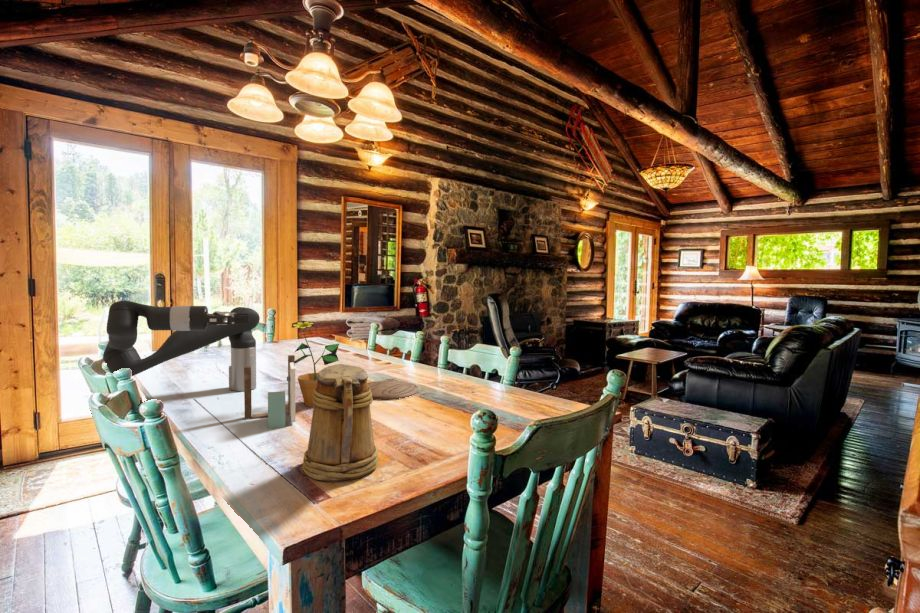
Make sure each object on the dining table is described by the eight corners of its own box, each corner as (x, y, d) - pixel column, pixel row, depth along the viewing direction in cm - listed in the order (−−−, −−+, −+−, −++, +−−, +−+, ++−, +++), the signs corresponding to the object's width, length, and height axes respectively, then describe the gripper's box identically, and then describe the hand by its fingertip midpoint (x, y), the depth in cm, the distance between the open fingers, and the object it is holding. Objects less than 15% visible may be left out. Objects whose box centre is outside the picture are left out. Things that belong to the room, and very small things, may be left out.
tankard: (367, 448, 126) (368, 359, 124) (392, 484, 105) (393, 378, 103) (298, 457, 118) (298, 363, 117) (310, 499, 97) (310, 384, 96)
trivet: (344, 396, 178) (344, 392, 178) (374, 382, 202) (374, 378, 202) (403, 403, 171) (403, 398, 171) (427, 388, 195) (427, 383, 194)
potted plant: (277, 406, 163) (276, 322, 161) (316, 394, 179) (316, 318, 177) (313, 414, 155) (313, 326, 152) (351, 401, 171) (351, 322, 169)
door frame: (244, 419, 147) (243, 358, 146) (245, 416, 150) (244, 357, 149) (294, 414, 153) (294, 356, 152) (294, 412, 156) (294, 354, 155)
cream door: (286, 412, 152) (285, 362, 151) (293, 412, 153) (293, 362, 152) (287, 422, 143) (287, 369, 141) (295, 421, 144) (295, 368, 142)
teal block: (268, 428, 140) (267, 396, 139) (268, 423, 145) (267, 392, 144) (285, 426, 142) (285, 395, 141) (284, 421, 147) (284, 391, 146)
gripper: (192, 328, 144) (248, 327, 150) (186, 333, 131) (248, 332, 137) (192, 304, 143) (248, 304, 150) (185, 307, 130) (248, 307, 137)
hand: (248, 317), depth 144 cm, fingers open, 8 cm apart
